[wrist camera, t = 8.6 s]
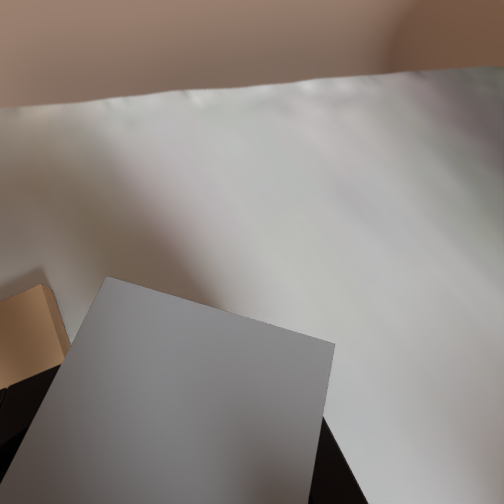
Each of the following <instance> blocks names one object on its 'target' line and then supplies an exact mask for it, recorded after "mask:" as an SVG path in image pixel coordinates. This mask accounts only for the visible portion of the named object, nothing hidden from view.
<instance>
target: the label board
mask: <svg viewBox="0 0 504 504" xmlns="http://www.w3.org/2000/svg"><path fill="white" fill-rule="evenodd" d="M70 347H71V346H70V343H69V340H68V336H67V333H66V330H65V327H64V324H63V321H62V318H61V315H60V312H59V309H58V306H57V303H56V300H55V297H54V294H53V291H52V290H51V289H49V288H47V287H45V286H44V285H42V284H39V285H37V286H35V287H33V288H30V289H28V290H26V291H23V292H21V293H19V294H17V295H14V296H12V297H10V298H7V299H5V300H3V301H1V302H0V389H2V388H8V386H10V385H12V384H14V383H17V382H19V381H21V380H24V379H26V378H28V377H31V376H33V375H35V374H38V373H40V372H43V371H45V370H47V369H50V368H52V367H54V366H57V365H59V364H61V363H62V362H63V360H64V358H65V356H66V355H67V353H68V351H69V349H70Z"/></svg>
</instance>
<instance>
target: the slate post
mask: <svg viewBox="0 0 504 504" xmlns="http://www.w3.org/2000/svg"><path fill="white" fill-rule="evenodd" d="M334 348H335V344H334V343H331V342H328V341H324V340H321V339H318V338H314V337H311V336H308V335H304V334H301V333H297V332H294V331H291V330H287V329H284V328H281V327H277V326H274V325H271V324H267V323H264V322H260V321H257V320H254V319H250V318H247V317H244V316H240V315H237V314H233V313H230V312H227V311H223V310H220V309H217V308H213V307H210V306H207V305H203V304H200V303H196V302H193V301H190V300H186V299H183V298H180V297H176V296H173V295H170V294H166V293H163V292H159V291H156V290H153V289H149V288H146V287H143V286H139V285H136V284H133V283H129V282H126V281H122V280H119V279H116V278H112V277H109V276H106V278H105V280H104V282H103V284H102V286H101V288H100V290H99V292H98V294H97V296H96V297H95V299H94V301H93V303H92V305H91V307H90V309H89V311H88V313H87V315H86V317H85V319H84V321H83V323H82V325H81V327H80V329H79V331H78V333H77V335H76V337H75V339H74V341H73V343H72V345H71V347H70V349H69V351H68V353H67V355H66V356H65V358H64V360H63V362H62V364H61V366H60V368H59V370H58V372H57V374H56V376H55V378H54V380H53V382H52V384H51V386H50V388H49V390H48V392H47V394H46V396H45V398H44V400H43V402H42V404H41V406H40V408H39V410H38V412H37V413H36V415H35V417H34V419H33V421H32V423H31V425H30V427H29V429H28V431H27V433H26V435H25V437H24V439H23V441H22V443H21V445H20V447H19V449H18V451H17V453H16V455H15V457H14V459H13V461H12V463H11V465H10V467H9V469H8V470H7V472H6V474H5V476H4V478H3V480H2V482H1V484H0V504H308V498H309V493H310V487H311V481H312V475H313V470H314V464H315V458H316V452H317V446H318V441H319V435H320V429H321V423H322V417H323V412H324V406H325V400H326V394H327V389H328V383H329V377H330V371H331V365H332V360H333V354H334Z"/></svg>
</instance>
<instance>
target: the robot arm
mask: <svg viewBox="0 0 504 504" xmlns="http://www.w3.org/2000/svg"><path fill="white" fill-rule="evenodd" d="M61 364H62V363H61ZM61 364H59V365H57V366H54V367H52V368H50V369H47V370H45V371H43V372H40V373H38V374H35V375H33V376H31V377H28V378H26V379H24V380H21V381H19V382H17V383H14V384H12V385H10V386H8V388H2V389H0V484H1V482H2V480H3V478H4V476H5V474H6V472H7V470H8V469H9V467H10V465H11V463H12V461H13V459H14V457H15V455H16V453H17V451H18V449H19V447H20V445H21V443H22V441H23V439H24V437H25V435H26V433H27V431H28V429H29V427H30V425H31V423H32V421H33V419H34V417H35V415H36V413H37V412H38V410H39V408H40V406H41V404H42V402H43V400H44V398H45V396H46V394H47V392H48V390H49V388H50V386H51V384H52V382H53V380H54V378H55V376H56V374H57V372H58V370H59V368H60V366H61ZM308 504H368V502H367V500H366V498H365V496H364V494H363V492H362V490H361V488H360V486H359V484H358V482H357V481H356V479H355V477H354V475H353V473H352V471H351V469H350V467H349V465H348V463H347V461H346V459H345V457H344V455H343V453H342V452H341V450H340V448H339V446H338V444H337V442H336V440H335V438H334V436H333V434H332V432H331V430H330V428H329V426H328V425H327V423H326V421H325V419H324V417H322V423H321V429H320V435H319V441H318V446H317V452H316V458H315V464H314V470H313V475H312V481H311V487H310V493H309V498H308Z"/></svg>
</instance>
